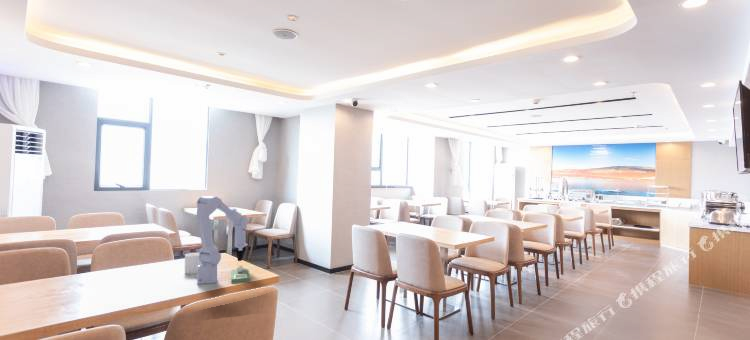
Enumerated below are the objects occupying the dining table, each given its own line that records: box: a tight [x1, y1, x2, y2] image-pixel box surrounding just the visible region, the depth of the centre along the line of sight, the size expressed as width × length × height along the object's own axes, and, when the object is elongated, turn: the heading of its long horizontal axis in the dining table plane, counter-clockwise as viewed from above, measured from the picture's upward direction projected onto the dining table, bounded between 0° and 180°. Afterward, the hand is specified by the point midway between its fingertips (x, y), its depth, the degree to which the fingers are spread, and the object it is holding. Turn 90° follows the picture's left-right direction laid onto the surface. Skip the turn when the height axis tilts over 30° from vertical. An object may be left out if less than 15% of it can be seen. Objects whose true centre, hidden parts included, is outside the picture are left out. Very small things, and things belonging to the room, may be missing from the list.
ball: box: [236, 265, 245, 272], centre depth 203 cm, size 4×4×4 cm
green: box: [230, 268, 251, 284], centre depth 201 cm, size 9×18×2 cm, turn 21°
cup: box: [184, 252, 202, 275], centre depth 210 cm, size 8×12×10 cm
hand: (239, 260), depth 212 cm, fingers closed
